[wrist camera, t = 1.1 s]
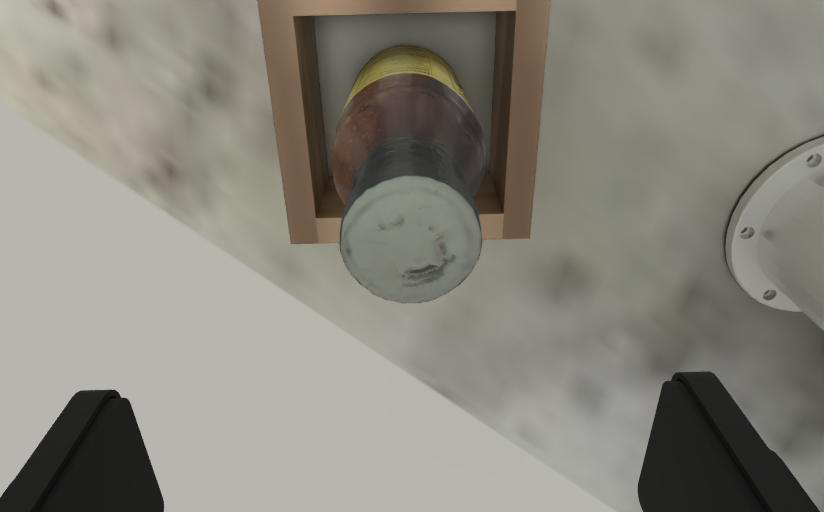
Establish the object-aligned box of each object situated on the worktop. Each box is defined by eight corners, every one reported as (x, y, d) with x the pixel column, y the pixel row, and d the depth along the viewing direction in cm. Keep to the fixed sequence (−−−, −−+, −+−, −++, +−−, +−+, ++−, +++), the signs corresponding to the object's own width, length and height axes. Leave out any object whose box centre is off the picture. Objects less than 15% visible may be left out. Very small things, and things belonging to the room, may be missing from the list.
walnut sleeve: (527, -34, 30) (552, -28, 25) (511, 195, 37) (529, 238, 31) (280, -28, 30) (254, -21, 25) (307, 200, 37) (291, 244, 31)
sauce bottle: (446, 157, 35) (486, 368, 18) (345, 137, 35) (286, 337, 17) (473, 47, 32) (553, 175, 15) (362, 23, 32) (313, 127, 14)
